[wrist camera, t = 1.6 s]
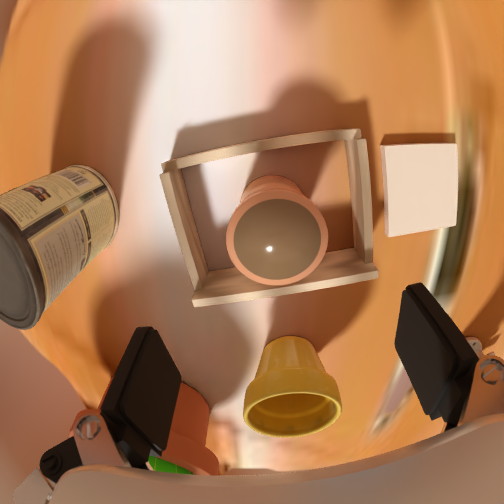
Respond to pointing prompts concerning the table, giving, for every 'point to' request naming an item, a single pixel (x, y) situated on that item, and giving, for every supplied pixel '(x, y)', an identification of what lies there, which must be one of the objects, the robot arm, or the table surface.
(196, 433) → the potted cactus
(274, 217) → the terracotta pot
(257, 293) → the frame
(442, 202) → the stone tile
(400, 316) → the robot arm
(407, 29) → the table surface
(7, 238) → the coffee can
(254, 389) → the plant pot
